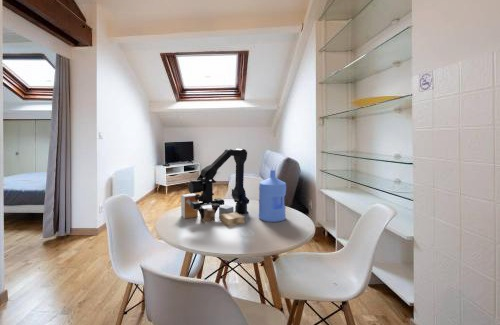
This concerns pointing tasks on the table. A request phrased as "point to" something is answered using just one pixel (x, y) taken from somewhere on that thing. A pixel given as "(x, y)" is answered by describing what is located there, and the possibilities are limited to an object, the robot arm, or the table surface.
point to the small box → (188, 206)
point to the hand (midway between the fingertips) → (207, 218)
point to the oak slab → (231, 218)
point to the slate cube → (225, 209)
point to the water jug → (272, 199)
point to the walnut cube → (208, 215)
